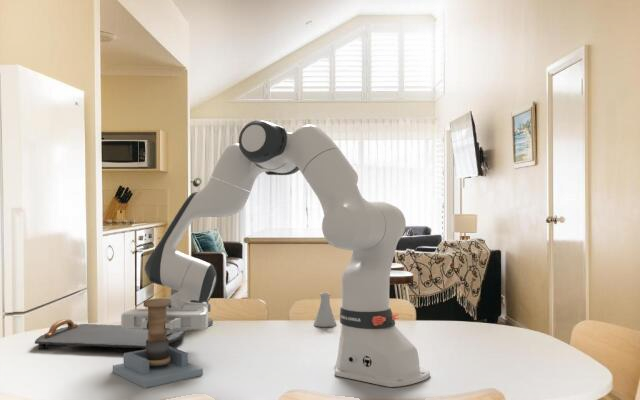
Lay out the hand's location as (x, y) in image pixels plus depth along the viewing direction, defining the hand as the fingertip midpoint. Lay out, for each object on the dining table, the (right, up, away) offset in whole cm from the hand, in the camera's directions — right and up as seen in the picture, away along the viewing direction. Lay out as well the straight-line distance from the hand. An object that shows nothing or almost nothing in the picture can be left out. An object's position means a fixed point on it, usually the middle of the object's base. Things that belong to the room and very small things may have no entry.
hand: (156, 326), depth 139 cm
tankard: (-2, -11, +57) cm, 58 cm away
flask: (+39, -11, +54) cm, 67 cm away
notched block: (0, -11, +1) cm, 11 cm away
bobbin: (0, -8, +1) cm, 8 cm away
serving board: (-20, -12, +30) cm, 38 cm away
